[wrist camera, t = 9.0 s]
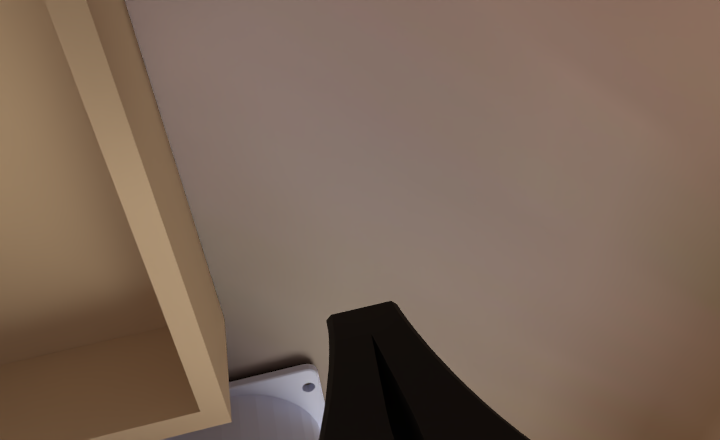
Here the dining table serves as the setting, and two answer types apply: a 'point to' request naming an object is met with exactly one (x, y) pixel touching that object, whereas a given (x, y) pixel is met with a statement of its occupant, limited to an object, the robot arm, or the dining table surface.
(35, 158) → the mailer box
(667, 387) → the dining table surface
